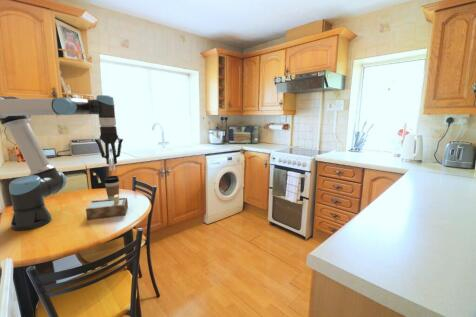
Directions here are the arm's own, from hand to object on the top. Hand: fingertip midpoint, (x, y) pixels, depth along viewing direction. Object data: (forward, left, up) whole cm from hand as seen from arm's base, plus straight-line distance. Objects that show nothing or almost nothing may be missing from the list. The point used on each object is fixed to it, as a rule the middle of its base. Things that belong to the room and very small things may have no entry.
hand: (112, 169), depth 127 cm
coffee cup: (-5, +21, -25) cm, 33 cm away
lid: (-5, 0, -20) cm, 20 cm away
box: (-4, 0, -24) cm, 25 cm away
